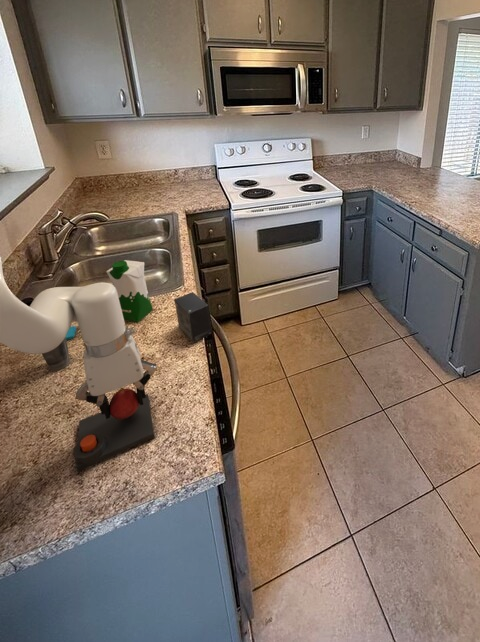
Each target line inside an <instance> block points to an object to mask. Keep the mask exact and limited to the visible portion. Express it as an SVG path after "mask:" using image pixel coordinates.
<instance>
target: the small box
mask: <svg viewBox="0 0 480 642" xmlns="http://www.w3.org/2000/svg"><path fill="white" fill-rule="evenodd" d="M173 302H174V306H175V312H176V318H177V324H178V328H179V330H180V331H181V332H182V333H183V334H184V335H185V337H187V338H188V340H189V341H190V342H191V343H192V344H194V343H196V342H198V341H201V340H203V339H205V338H207V337H209V336H211V335H212V334H213V332H212V324H211V319H210V317H211V316H210V310H209V304H208V303H206V302H205V301H204V300H203V299H201V297H200V296H198V295H197V294H196V293H195V292H193V291H192V292H188V293H186V294H184V295H182V296H179V297H176V298H174V299H173Z"/></svg>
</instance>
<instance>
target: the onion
mask: <svg viewBox="0 0 480 642" xmlns="http://www.w3.org/2000/svg"><path fill="white" fill-rule="evenodd" d="M138 405H139V399H138V396H137V391H135V390H133V389H132V388H124V387H122V388H119V389H118V390H117V391H116V392H115V393H114V394H113V395H112V397H111V399H110V401H109V411H110V414H111V416H113V417H114V418H116V419H125V418H128V417H130V416H131V415H132V414H133V413H135V411H136V410H137V408H138Z"/></svg>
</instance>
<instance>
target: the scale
mask: <svg viewBox="0 0 480 642" xmlns="http://www.w3.org/2000/svg"><path fill="white" fill-rule="evenodd" d="M145 394H146V393H145ZM143 403H144V404H143V405H140V403H139V405H138V408H137V410H136V411H135V413H133V414H132V415H131V416H130V417H128V418H125V419H116V418H114V417H113V416H111V414H110V417H109V418H108V419H106V416H105V414H103V415H102V414H101V411H100V412H97V413H96V414H93V415H90V416H88V417H85V418H83V419H80V420H79V421H78V433H77V434H78V435H77V442H76V444H75V445H74V446H73V449H72V457H73V459H74V461H75V469H76V471H77V473H79V472H82V471H84V470H85V469H88V468H90V467H92V466H95V465H97V464H99V463H101V462H103V461H105V460H109V459H110V458H113V457H115V456H117V455H119V454H122V453H124V452H126V451H128V450H130V449H133V448H135V447H138V446H139V445H142V444H144V443H146V442H149V441H151V440H153V439H155V430H154V423H153V415H152V410H151V409H152V408H151V402H150V396H149V393H147V394H146V398H143ZM88 435H94V436H95V437H96V441H97V445H96V447H95V448H94V449H92V450H91V451H89V452H83V451H82V448H81V445H80V443H81V441H82V439H83V438H85V437H86V436H88Z"/></svg>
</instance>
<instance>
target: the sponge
mask: <svg viewBox="0 0 480 642" xmlns="http://www.w3.org/2000/svg"><path fill="white" fill-rule="evenodd" d="M76 331H77V326H76V325H72V326H70V328H69V330H68V332H67V334H66V341H68V340H72V339H74V338H75V336H76Z"/></svg>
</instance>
